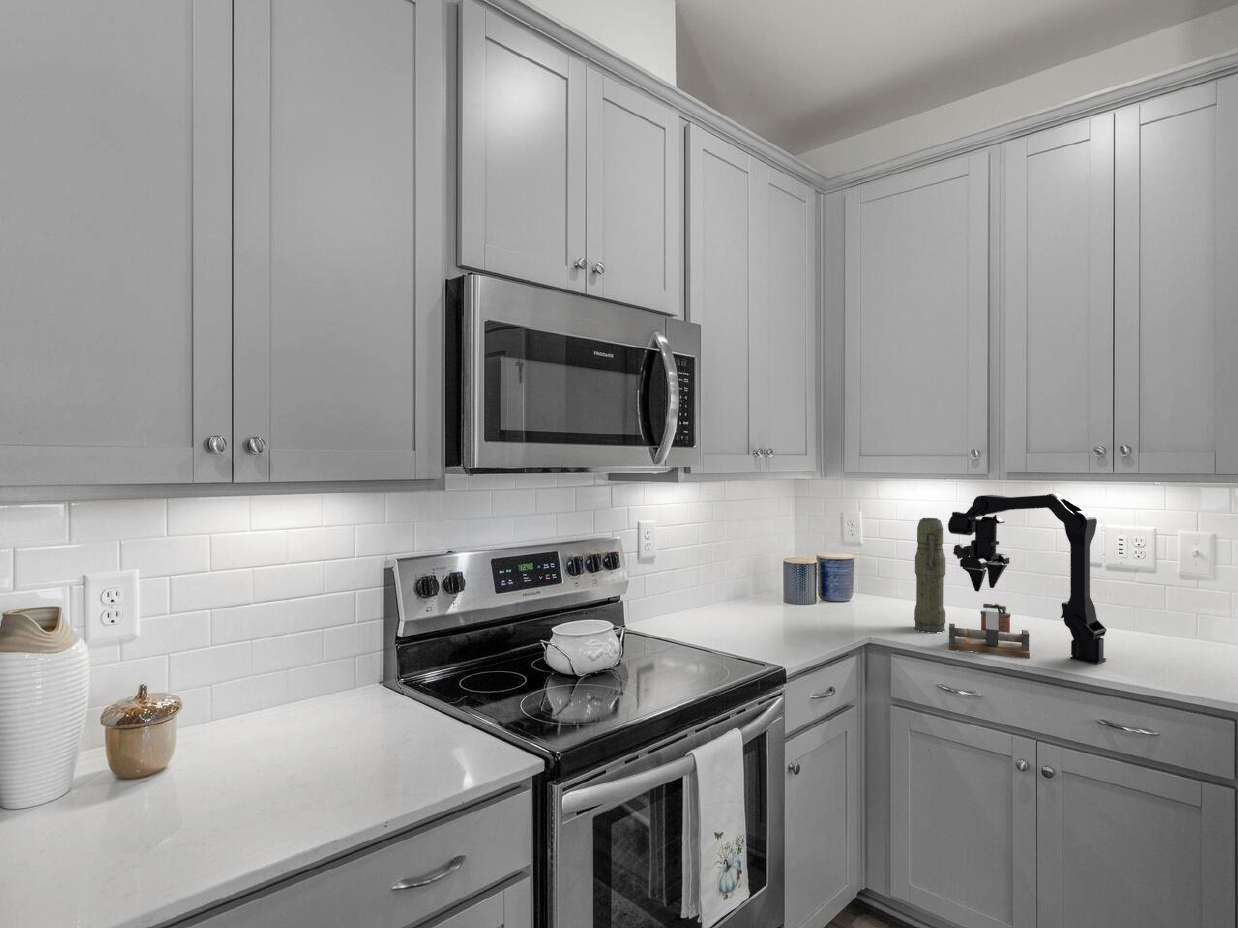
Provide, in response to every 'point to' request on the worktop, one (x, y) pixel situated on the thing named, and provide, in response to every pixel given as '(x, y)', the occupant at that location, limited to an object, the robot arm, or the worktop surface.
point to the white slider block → (992, 626)
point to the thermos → (929, 576)
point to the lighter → (1003, 618)
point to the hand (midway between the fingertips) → (984, 589)
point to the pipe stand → (981, 646)
